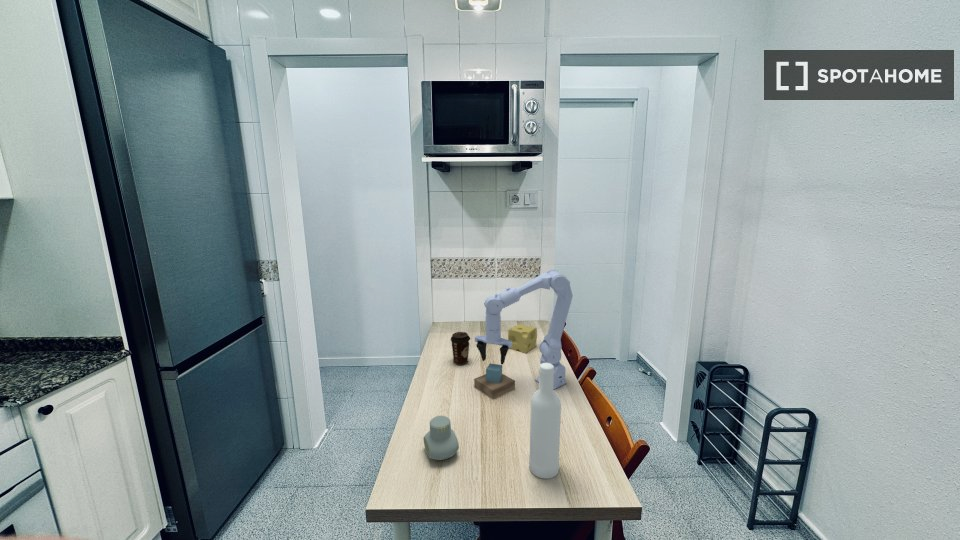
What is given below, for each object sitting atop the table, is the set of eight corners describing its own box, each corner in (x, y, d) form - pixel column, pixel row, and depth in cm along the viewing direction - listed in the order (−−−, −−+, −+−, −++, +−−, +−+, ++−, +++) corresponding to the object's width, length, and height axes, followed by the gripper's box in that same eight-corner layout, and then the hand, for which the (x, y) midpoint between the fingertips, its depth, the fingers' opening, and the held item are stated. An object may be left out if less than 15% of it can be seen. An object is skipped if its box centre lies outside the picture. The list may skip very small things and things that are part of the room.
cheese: (526, 354, 168) (526, 333, 166) (506, 348, 175) (506, 328, 173) (537, 346, 176) (537, 327, 174) (518, 341, 183) (518, 322, 181)
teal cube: (502, 377, 140) (502, 365, 139) (498, 383, 135) (498, 371, 134) (489, 375, 141) (489, 363, 140) (486, 381, 137) (486, 369, 136)
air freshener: (422, 444, 108) (420, 414, 106) (448, 437, 111) (447, 407, 109) (432, 469, 98) (431, 436, 96) (461, 460, 101) (460, 428, 99)
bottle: (555, 457, 102) (558, 358, 96) (562, 479, 94) (566, 372, 88) (526, 458, 102) (528, 358, 95) (531, 480, 94) (533, 373, 88)
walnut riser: (514, 390, 138) (514, 380, 137) (492, 400, 131) (492, 390, 130) (495, 379, 146) (495, 370, 146) (474, 388, 140) (474, 378, 139)
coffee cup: (471, 358, 164) (471, 331, 162) (469, 366, 156) (469, 338, 153) (452, 357, 165) (452, 330, 162) (449, 366, 157) (448, 337, 154)
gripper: (514, 327, 137) (514, 360, 140) (479, 322, 143) (480, 354, 145) (508, 333, 131) (508, 368, 133) (472, 328, 136) (472, 361, 139)
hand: (493, 361), depth 139 cm, fingers open, 7 cm apart
